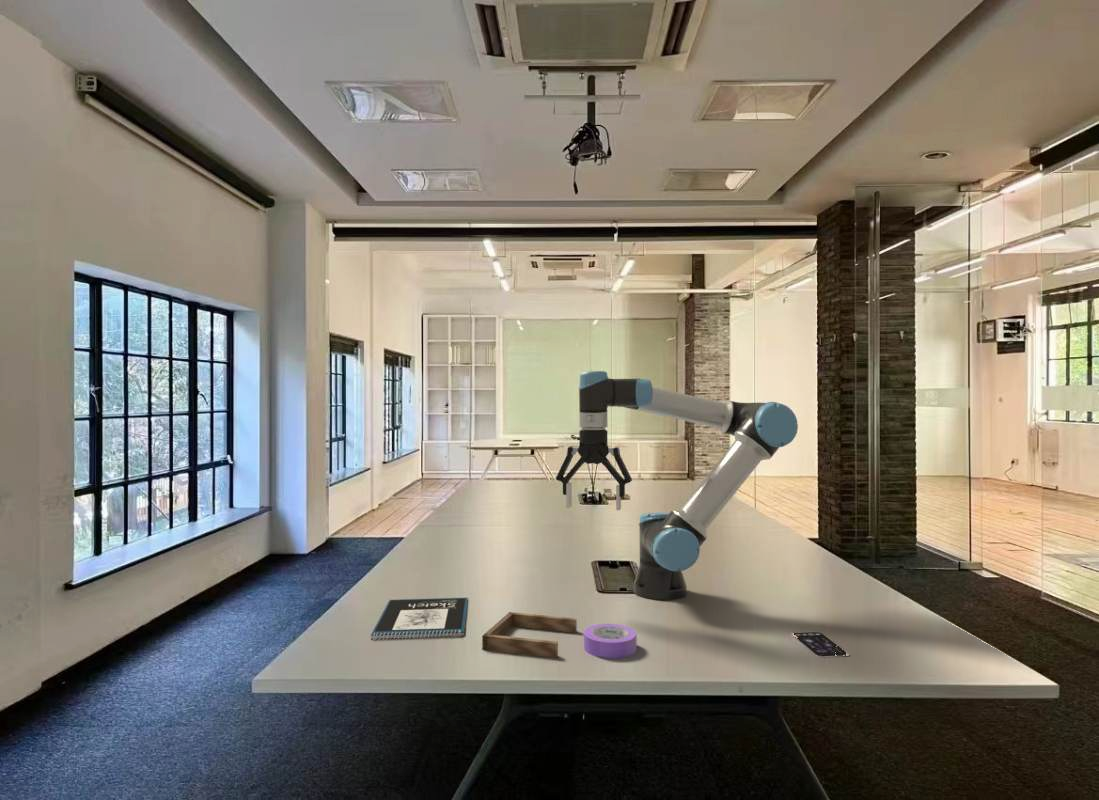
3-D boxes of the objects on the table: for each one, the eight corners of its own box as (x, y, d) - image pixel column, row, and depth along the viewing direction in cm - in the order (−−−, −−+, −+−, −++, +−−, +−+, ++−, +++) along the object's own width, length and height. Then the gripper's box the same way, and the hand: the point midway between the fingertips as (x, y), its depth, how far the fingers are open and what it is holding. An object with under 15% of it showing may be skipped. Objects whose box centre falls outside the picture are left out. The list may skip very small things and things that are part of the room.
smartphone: (820, 631, 158) (852, 655, 143) (820, 634, 158) (852, 658, 143) (789, 632, 158) (817, 656, 143) (789, 635, 158) (817, 659, 143)
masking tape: (635, 661, 141) (635, 643, 141) (581, 657, 143) (581, 639, 143) (637, 641, 153) (637, 625, 153) (587, 638, 155) (587, 622, 155)
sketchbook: (467, 602, 185) (467, 594, 185) (463, 640, 155) (463, 631, 155) (389, 604, 183) (389, 596, 183) (370, 643, 153) (370, 634, 153)
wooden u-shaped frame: (576, 631, 159) (576, 618, 159) (556, 657, 143) (556, 643, 143) (509, 624, 164) (509, 612, 164) (482, 649, 148) (482, 635, 148)
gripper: (544, 428, 177) (544, 508, 177) (637, 429, 170) (637, 512, 170) (552, 427, 184) (552, 504, 184) (642, 428, 177) (642, 508, 177)
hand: (593, 508), depth 177 cm, fingers open, 13 cm apart
